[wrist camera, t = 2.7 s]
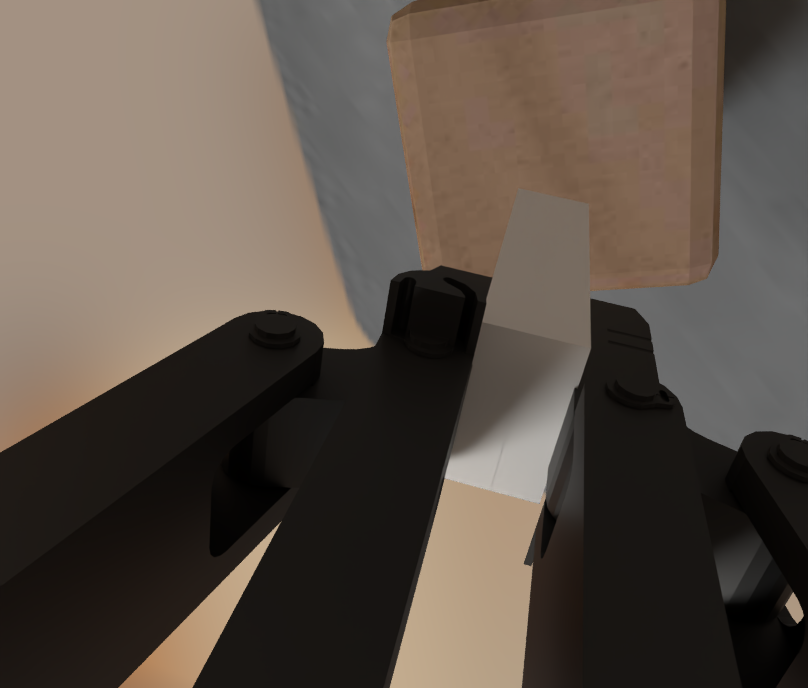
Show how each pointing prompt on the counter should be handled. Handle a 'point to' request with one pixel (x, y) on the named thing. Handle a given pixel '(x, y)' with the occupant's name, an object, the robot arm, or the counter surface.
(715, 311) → the counter surface
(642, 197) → the wooden block
